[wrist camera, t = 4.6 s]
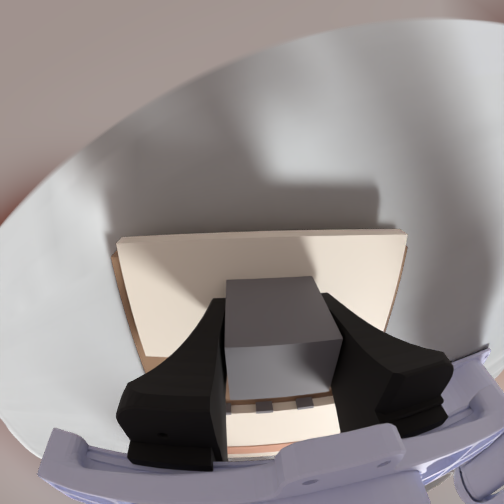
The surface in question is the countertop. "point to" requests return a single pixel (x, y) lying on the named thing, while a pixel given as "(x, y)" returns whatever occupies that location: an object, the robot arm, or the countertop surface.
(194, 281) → the stub
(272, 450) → the ticket
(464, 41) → the countertop surface
